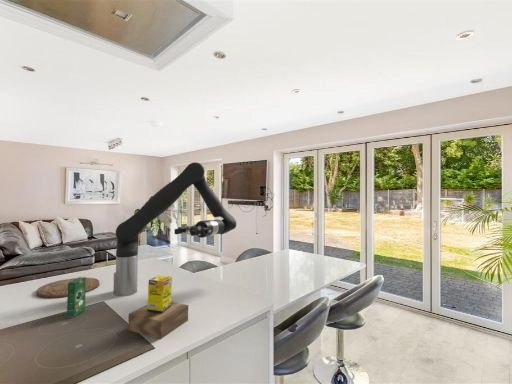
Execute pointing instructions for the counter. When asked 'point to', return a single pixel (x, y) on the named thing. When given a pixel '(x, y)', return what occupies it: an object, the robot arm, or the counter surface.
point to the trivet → (63, 288)
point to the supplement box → (159, 293)
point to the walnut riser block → (158, 320)
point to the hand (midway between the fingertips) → (183, 232)
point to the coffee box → (76, 297)
